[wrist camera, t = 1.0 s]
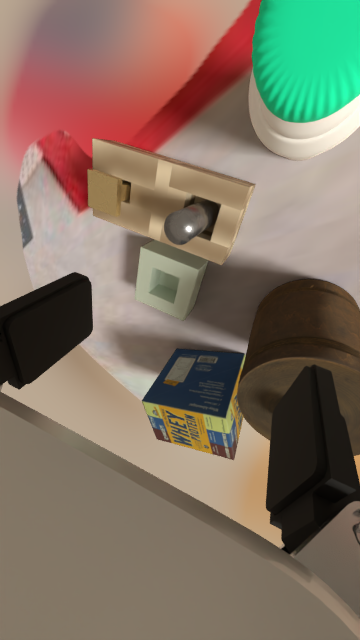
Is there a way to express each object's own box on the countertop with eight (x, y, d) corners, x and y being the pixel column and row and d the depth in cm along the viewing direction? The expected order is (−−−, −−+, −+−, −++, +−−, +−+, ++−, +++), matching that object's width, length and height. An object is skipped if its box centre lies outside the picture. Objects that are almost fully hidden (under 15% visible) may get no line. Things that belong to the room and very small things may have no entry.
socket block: (114, 140, 36) (92, 138, 32) (255, 184, 31) (249, 187, 28) (112, 210, 42) (93, 215, 38) (229, 254, 38) (221, 265, 34)
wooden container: (292, 369, 44) (288, 498, 27) (238, 312, 42) (197, 412, 25) (383, 332, 35) (464, 494, 18) (319, 257, 33) (339, 357, 16)
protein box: (250, 391, 51) (235, 461, 39) (185, 382, 58) (155, 439, 46) (246, 352, 46) (227, 418, 34) (175, 347, 53) (139, 401, 41)
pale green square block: (155, 239, 41) (140, 247, 37) (208, 259, 39) (198, 270, 35) (147, 288, 47) (134, 299, 43) (193, 307, 45) (183, 321, 42)
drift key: (113, 168, 34) (87, 168, 30) (140, 177, 33) (117, 179, 29) (112, 201, 36) (88, 206, 32) (137, 210, 36) (115, 216, 31)
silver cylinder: (200, 196, 34) (167, 207, 25) (222, 203, 33) (196, 217, 25) (193, 221, 36) (161, 239, 28) (215, 228, 35) (188, 249, 27)
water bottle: (268, 101, 27) (190, -53, 8) (343, 62, 23) (542, -398, 4) (278, 170, 30) (239, 184, 11) (346, 144, 26) (473, 94, 7)
